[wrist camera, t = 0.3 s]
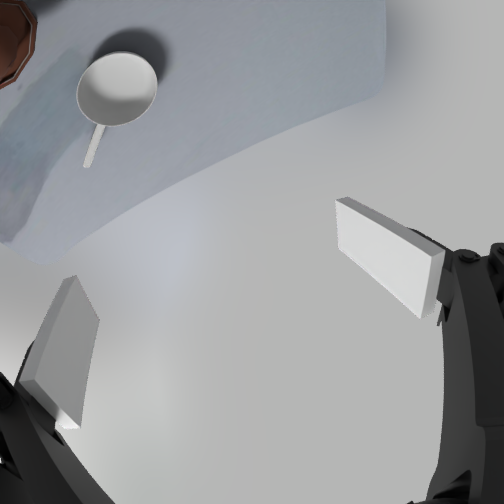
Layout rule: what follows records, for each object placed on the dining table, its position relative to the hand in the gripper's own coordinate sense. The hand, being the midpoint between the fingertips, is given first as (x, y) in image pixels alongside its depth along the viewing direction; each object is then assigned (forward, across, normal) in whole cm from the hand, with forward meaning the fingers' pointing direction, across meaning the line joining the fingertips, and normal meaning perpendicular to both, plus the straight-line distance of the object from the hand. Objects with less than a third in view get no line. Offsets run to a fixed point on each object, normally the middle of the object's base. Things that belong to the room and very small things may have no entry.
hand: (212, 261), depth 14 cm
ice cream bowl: (+22, -17, +27) cm, 39 cm away
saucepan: (+31, -8, +12) cm, 35 cm away
